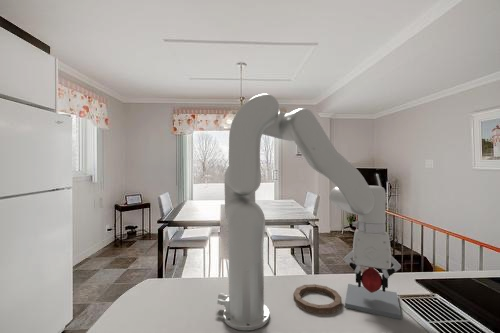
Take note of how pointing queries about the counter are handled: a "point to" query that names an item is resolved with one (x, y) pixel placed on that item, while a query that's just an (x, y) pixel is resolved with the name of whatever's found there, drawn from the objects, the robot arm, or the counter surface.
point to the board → (373, 301)
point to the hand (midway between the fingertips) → (371, 286)
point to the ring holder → (314, 307)
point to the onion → (371, 280)
